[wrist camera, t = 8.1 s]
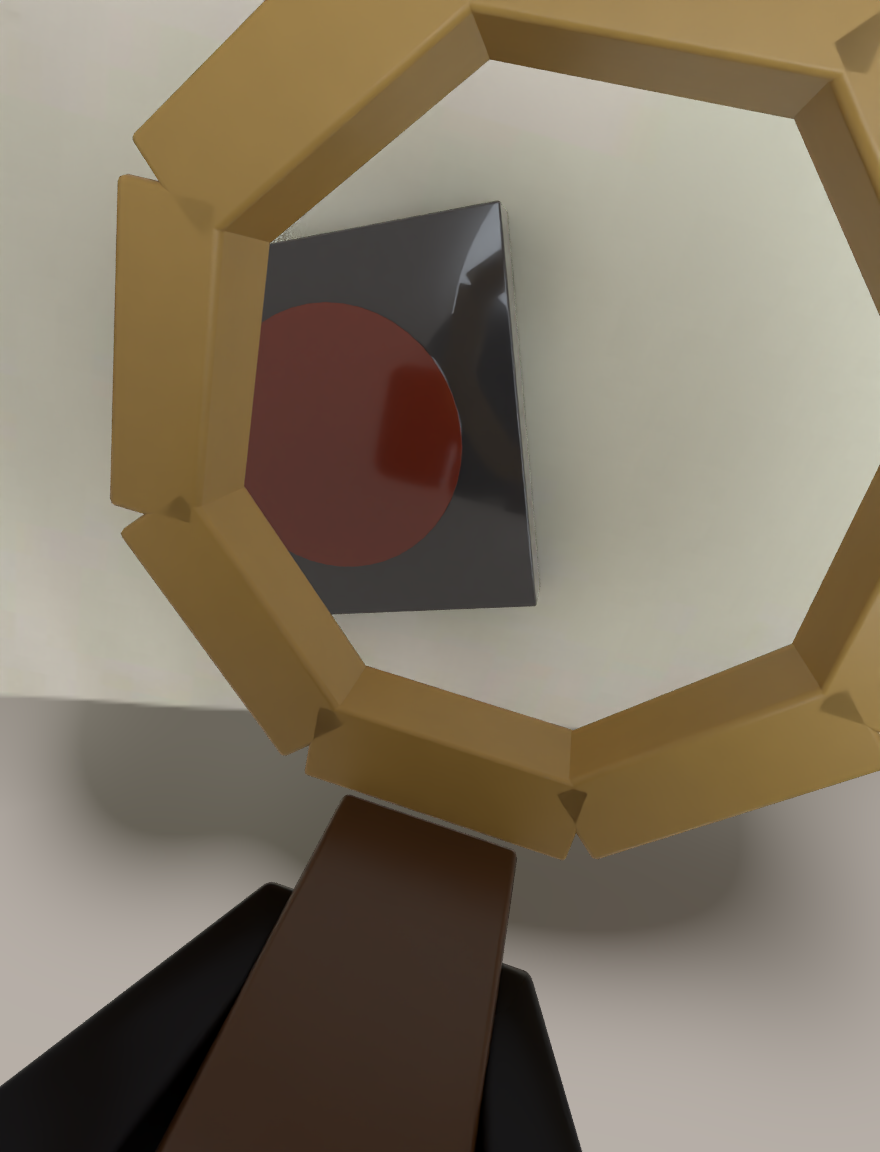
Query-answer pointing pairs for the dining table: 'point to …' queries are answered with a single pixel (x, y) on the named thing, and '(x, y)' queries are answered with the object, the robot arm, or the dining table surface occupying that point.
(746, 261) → the dining table surface
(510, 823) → the ring
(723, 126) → the dining table surface
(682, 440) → the dining table surface
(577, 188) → the dining table surface
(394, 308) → the stove
